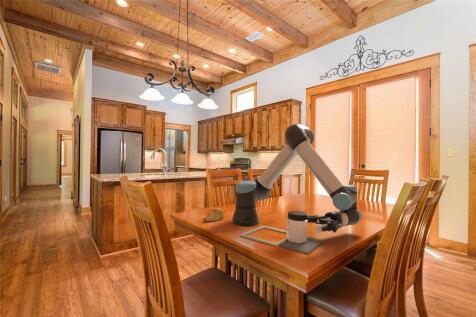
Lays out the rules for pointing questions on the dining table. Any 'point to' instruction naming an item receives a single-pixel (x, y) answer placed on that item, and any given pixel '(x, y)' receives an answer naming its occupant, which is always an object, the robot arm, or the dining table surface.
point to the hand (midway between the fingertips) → (302, 225)
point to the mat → (303, 245)
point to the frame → (262, 239)
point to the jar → (296, 227)
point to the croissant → (215, 214)
